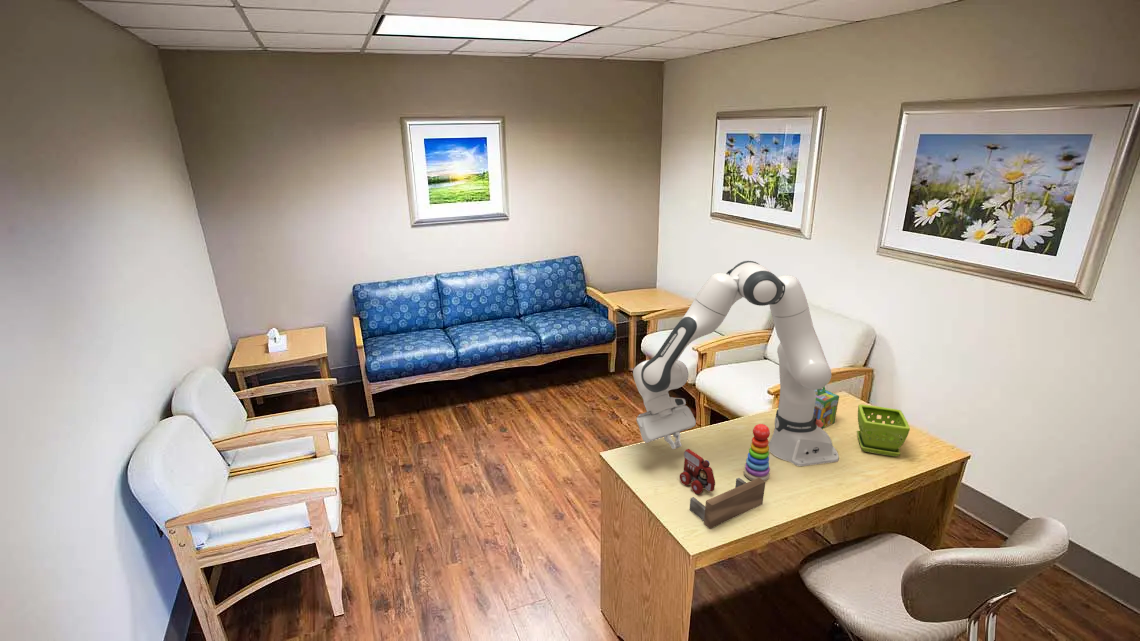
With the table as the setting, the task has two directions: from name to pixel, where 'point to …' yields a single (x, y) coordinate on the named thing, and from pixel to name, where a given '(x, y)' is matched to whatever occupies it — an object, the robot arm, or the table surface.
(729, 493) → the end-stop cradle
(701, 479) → the toy fire truck
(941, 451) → the table surface
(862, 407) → the flower pot
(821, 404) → the chalk box
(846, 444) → the table surface
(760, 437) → the stacking toy
